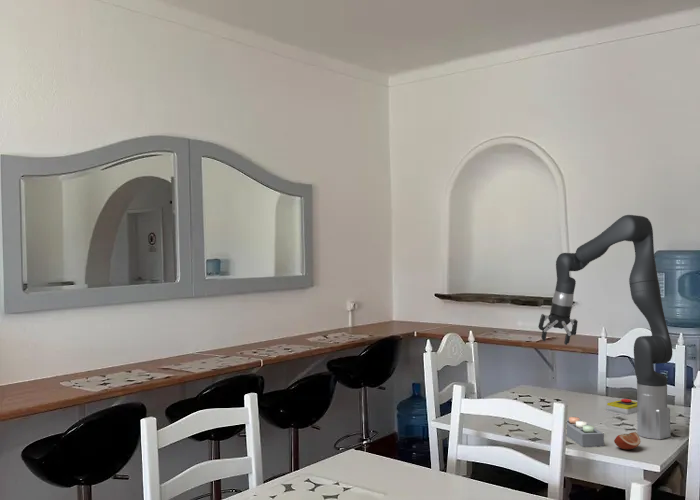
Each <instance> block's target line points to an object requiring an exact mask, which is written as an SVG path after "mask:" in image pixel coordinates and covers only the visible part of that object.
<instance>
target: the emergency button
mask: <svg viewBox="0 0 700 500" xmlns="http://www.w3.org/2000/svg"><path fill="white" fill-rule="evenodd" d="M603 411H604V412H606V413H611V414H616V415H620V416H627V415H628V416H629V415H632V414H637V401H634V400H632V399H628V398H622V399H619V400H615V401H611V402H607V405H606V409H603Z"/></svg>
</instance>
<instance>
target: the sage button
mask: <svg viewBox="0 0 700 500" xmlns="http://www.w3.org/2000/svg"><path fill="white" fill-rule="evenodd" d="M594 428H595V426H594V425H590V424H588V425H584V426H583V432H584V433H594Z"/></svg>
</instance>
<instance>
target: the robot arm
mask: <svg viewBox="0 0 700 500" xmlns="http://www.w3.org/2000/svg"><path fill="white" fill-rule="evenodd" d="M653 230H654V229H653V226H652V222H651V220H650V219H649V218H647V217H646V216H642V215H634V214H626V215H622V216H620V217H619V218H618V219H617V220H616V221H614V222H613V223H612V224H611V225H609V226H608V227H607V228H606V229H605V230H604V231H603V232H601V233H599V234H598V235H596V236H595V237H594V238H592V239H590V240H589V241H588V240H587V241H586V242H585V243H583V244H581V245H579V247H577V248H576V250H575V252H561V253H560V254H559V255H558V256H557V258H556V260H555V271H556V285H555V290H554V293H553V297H552V302H551V307H550V312H549V315H546V314H544V313H541V314H540V319H539V322H538V329H539V330H540V331H541V340H542V341H543V342H546V340H547V339H546V338H547V334H548V331H549V330H551V329H552V328H554V329H561V330H562V329H564V331H565V332H566V333H565V337H564V345H566V346H567V345H568V344H569V343H570V340H571V337H572V336H576V335H577V328H578V320H577V318H572V319H571V313H572V309H573V302H574V294H575V288H576V284H577V283H576V282H577V281H576V279H575V278H573V277H572V276H570V272H579V271H582V270H583V269H584V268H586V267H587V266H588V265H589V264H590V263H591V262H593V261H594V260H597V259H599V258H601V257H602V256H604V254H605V253H606V252H607V251H608V250H609V248H610V247H611V246H613V245H615V244H618V243H621V242H632V243H633V249H634V255H635V256H634V262H633V265H632V268H631V271H630V274H629V278H628V279H629V280H628V282H629V290H630V295H631V299H632V302H633V303H634V305H635V306H636V308H637V309H638V311H640V312H641V314H642V315H643V316H644V317H645V318H646V321H647V322H648V324H649V325H648V326H649V328H650V333H651V335H642V336H638V337H637V338H636V339H635V341H634V343H633V360H634V374H635V377H636V402H637V413H636V414H637V416H636V419H637V423H636V424H637V430H636V431H637V434H638V436H639V437H642V438H648V439H653V440H654V439H655V440H663V439H667V438H671V408H670V407H668V378H667V376H666V375H664V374H662V373H659V372H656V370H655V369H654V368H655V367H654V364H667V363H670V362H671V359H672V357H673V345H672V339H671V337H670V333H669V330H668V325H667V321H666V318H665V312H664V308H663V303H662V293H661V289H660V281H659V278H658V272H657V266H656V265H657V264H656V258H655V248H654V247H655V245H654V231H653ZM547 320H548V322H547V323H546V325H545V326H544V324H545V321H547ZM569 324H571V331H570V329H569V327H568V325H569Z"/></svg>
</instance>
